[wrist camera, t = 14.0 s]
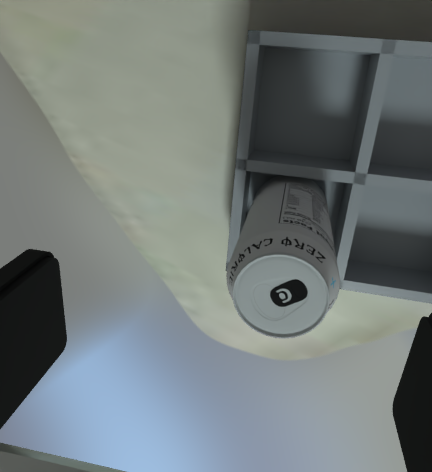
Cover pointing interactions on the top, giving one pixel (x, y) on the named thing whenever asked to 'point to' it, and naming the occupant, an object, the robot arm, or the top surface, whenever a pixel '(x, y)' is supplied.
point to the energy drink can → (285, 260)
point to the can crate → (346, 148)
